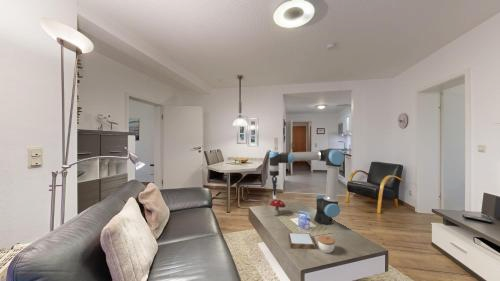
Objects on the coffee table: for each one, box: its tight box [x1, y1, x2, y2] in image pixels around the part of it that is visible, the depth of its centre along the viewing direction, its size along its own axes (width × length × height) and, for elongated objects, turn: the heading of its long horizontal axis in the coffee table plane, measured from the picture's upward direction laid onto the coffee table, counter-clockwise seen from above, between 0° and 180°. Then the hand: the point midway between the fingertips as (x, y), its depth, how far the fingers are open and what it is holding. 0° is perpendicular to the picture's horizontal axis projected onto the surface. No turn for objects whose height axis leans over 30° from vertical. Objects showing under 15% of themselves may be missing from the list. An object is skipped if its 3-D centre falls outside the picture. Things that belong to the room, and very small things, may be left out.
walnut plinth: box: [287, 232, 316, 250], centre depth 140 cm, size 16×16×3 cm
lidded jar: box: [317, 234, 336, 254], centre depth 130 cm, size 11×11×9 cm
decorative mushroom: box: [268, 198, 286, 217], centre depth 191 cm, size 16×16×15 cm
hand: (274, 196), depth 161 cm, fingers open, 13 cm apart
